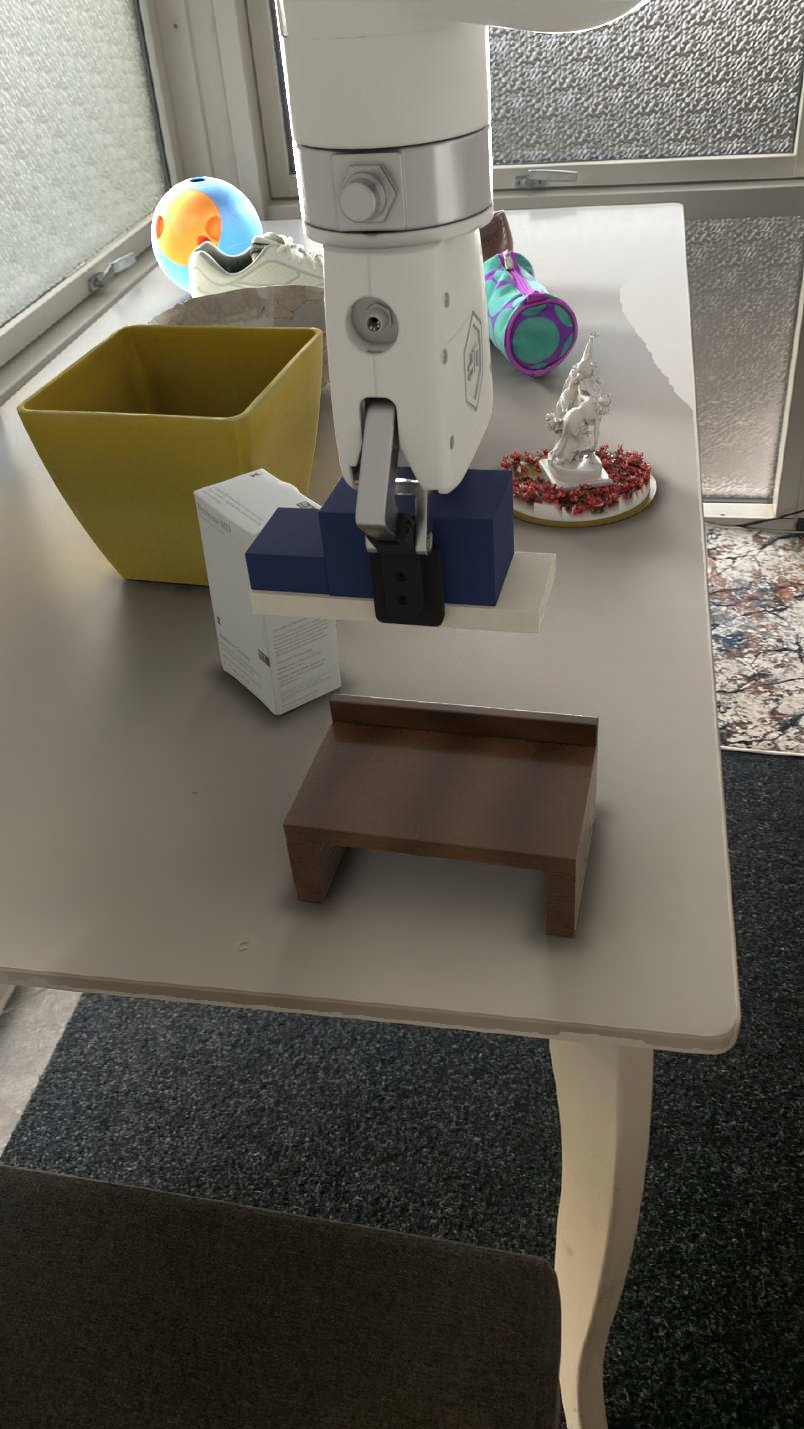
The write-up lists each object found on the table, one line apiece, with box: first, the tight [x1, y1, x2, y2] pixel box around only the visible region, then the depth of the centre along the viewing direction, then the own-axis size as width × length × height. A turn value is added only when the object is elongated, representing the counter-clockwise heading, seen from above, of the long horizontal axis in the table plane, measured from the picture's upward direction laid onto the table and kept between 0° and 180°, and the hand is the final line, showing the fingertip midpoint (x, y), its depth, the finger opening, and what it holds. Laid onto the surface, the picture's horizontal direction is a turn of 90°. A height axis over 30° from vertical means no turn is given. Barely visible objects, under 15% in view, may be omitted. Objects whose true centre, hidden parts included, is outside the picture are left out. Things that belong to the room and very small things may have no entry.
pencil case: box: [483, 250, 579, 377], centre depth 131 cm, size 21×9×10 cm, turn 10°
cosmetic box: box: [193, 469, 343, 716], centre depth 78 cm, size 8×6×15 cm
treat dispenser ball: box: [150, 176, 264, 294], centre depth 157 cm, size 16×15×15 cm
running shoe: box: [189, 232, 324, 298], centre depth 141 cm, size 11×30×12 cm, turn 89°
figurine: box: [500, 331, 658, 528], centre depth 99 cm, size 15×15×14 cm
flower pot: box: [15, 323, 323, 587], centre depth 94 cm, size 19×19×17 cm
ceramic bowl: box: [146, 285, 330, 390], centre depth 123 cm, size 22×23×10 cm
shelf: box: [282, 693, 600, 938], centre depth 64 cm, size 16×10×8 cm, turn 76°
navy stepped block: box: [245, 466, 557, 635], centre depth 53 cm, size 14×5×6 cm, turn 76°
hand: (425, 584), depth 54 cm, fingers closed on navy stepped block, 5 cm apart
